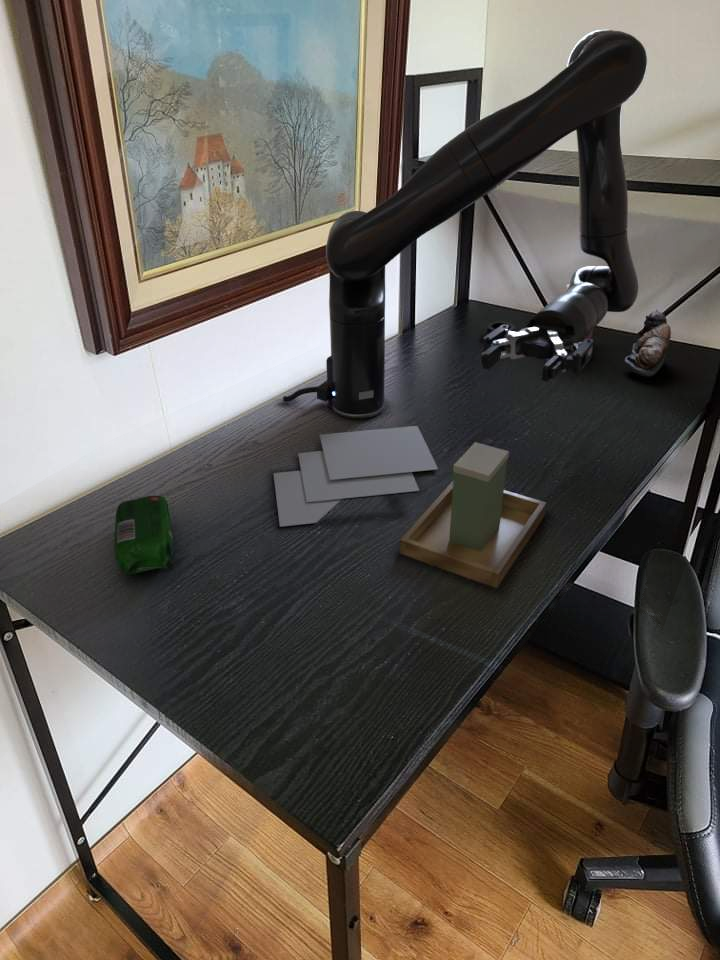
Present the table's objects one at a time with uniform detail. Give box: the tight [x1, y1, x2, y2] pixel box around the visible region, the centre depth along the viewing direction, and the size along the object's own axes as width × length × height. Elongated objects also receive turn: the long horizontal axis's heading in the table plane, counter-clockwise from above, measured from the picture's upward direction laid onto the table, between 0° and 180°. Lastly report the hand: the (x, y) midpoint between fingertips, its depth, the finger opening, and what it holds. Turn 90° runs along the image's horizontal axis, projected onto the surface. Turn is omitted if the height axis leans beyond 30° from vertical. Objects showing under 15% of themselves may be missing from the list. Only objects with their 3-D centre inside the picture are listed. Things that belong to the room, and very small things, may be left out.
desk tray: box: [399, 480, 548, 589], centre depth 98 cm, size 14×18×2 cm
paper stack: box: [273, 425, 439, 528], centre depth 112 cm, size 23×25×1 cm
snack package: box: [113, 495, 174, 576], centre depth 95 cm, size 7×16×5 cm, turn 15°
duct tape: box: [486, 320, 516, 335], centre depth 155 cm, size 8×10×3 cm
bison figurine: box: [624, 309, 672, 378], centre depth 140 cm, size 12×7×10 cm, turn 154°
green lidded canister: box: [449, 441, 510, 552], centre depth 95 cm, size 5×7×12 cm
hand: (514, 368), depth 96 cm, fingers open, 8 cm apart
